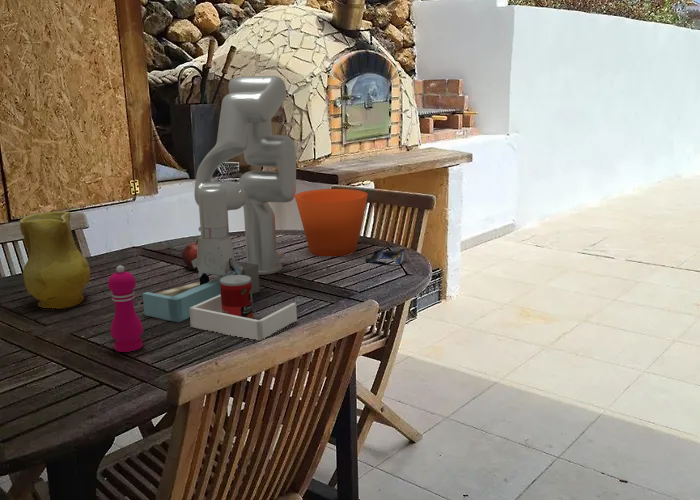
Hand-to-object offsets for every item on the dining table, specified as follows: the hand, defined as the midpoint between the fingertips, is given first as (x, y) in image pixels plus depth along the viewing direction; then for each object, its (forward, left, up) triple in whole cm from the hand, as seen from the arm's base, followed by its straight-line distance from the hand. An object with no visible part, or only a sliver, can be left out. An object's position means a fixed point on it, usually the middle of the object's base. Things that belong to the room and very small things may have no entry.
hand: (218, 293), depth 194 cm
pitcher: (+20, -40, -3) cm, 45 cm away
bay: (+11, +17, -3) cm, 21 cm away
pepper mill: (+35, +3, -3) cm, 36 cm away
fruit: (-23, -28, -3) cm, 36 cm away
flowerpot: (-61, 0, -3) cm, 61 cm away
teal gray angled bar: (+2, -3, -3) cm, 5 cm away
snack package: (-56, +22, -3) cm, 60 cm away
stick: (0, -13, -3) cm, 13 cm away
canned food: (+9, +14, -3) cm, 17 cm away
